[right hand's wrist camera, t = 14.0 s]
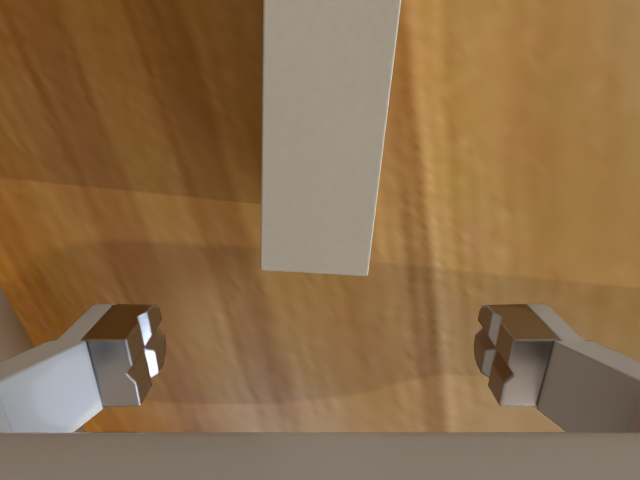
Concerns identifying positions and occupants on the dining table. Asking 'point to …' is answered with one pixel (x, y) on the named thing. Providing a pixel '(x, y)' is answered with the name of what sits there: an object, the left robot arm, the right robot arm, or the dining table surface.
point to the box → (323, 130)
